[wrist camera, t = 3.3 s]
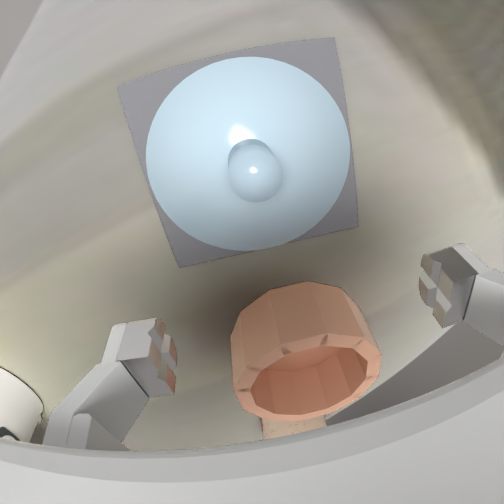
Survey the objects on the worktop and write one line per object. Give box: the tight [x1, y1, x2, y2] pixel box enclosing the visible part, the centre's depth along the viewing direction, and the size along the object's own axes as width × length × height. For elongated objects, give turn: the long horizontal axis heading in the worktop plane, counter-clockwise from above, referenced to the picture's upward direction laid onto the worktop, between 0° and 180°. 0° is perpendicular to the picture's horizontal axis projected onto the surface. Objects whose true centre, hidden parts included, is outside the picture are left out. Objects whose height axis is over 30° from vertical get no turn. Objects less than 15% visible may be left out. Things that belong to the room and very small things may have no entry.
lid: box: [146, 57, 350, 251], centre depth 21 cm, size 15×15×5 cm
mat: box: [117, 37, 358, 268], centre depth 23 cm, size 16×16×1 cm
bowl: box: [230, 281, 382, 421], centre depth 31 cm, size 14×14×7 cm
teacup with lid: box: [261, 415, 326, 440], centre depth 38 cm, size 12×9×12 cm
